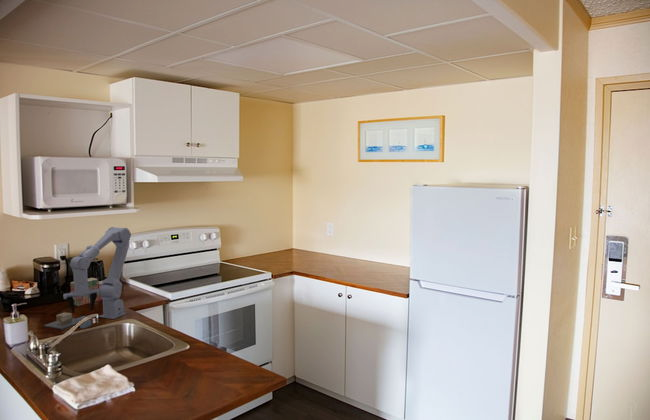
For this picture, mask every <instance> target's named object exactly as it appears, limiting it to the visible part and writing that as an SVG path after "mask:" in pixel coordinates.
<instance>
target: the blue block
mask: <svg viewBox="0 0 650 420" xmlns="http://www.w3.org/2000/svg"><path fill="white" fill-rule="evenodd" d="M85 317H87V316H86V315H83V316H80V317H77V318H75V320H76V324H77V323H78V322H79V321H81V320H82V319H83V318H85ZM91 326H92V318H91V319H90V320H87V321H86V322H84V323H83V324H81V325H80V328H79V329H85V328H88V327H91Z"/></svg>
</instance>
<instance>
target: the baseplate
mask: <svg viewBox="0 0 650 420" xmlns="http://www.w3.org/2000/svg"><path fill="white" fill-rule="evenodd" d="M75 319H76V318H74V317H72V322H70V323H67V324H65V325H62V324H57V320H55V321H51V322H50V323H47V324H44V326H43V327H45V328H51V329H55V330H56V329H57V330H66V329H69V328H71V327H74V326H76V325H75V324H76V320H75Z"/></svg>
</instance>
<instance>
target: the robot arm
mask: <svg viewBox="0 0 650 420" xmlns="http://www.w3.org/2000/svg"><path fill="white" fill-rule="evenodd" d="M131 236H132V234H131V232H130V229H129V228H128V227H114V226H111V227H108V229H107V230H105V233H104V235H102V236H101V238H99V239H98V240H97V241H96V242H95V244H94V245H92V244H91V245H87V246H86V248H85V250H83V251H82V252H80V253H79V254H78V255H77V256H74V257H72V258H71V260H70V263H69V267H70V268H71V270H72V273H73V274H72V275H73V282H74V292H71V291H70V292H68V293H63V296H62V297H63V299H64V300H66V301H67V302H68V304H69V306H70V309H71V313H72V314H75V313H76V311H75V305H74V300H73V297H78V296H85V295H90V303H89V304H90V305H89V308H90V311H93V310H94V306H95V303H96V302H95V300H96V298H97V294H99V295H100V296H101V298H102V299H103V300H102V314H101V315H99V316H98V317H99V318H103V319H104V318H105V319H111V320H115V319H117V318H120V317H122V316H125V315H126V314H127V313H125V302H124V300H123V299H121V298H120V297H121V295H122V292H123V291H122V288H123V283H122V281H121V280H120V278H121V275H122V272H123V268H124V265H125V261H126V258H127V254H128V252H129V247H130V240H131ZM111 242H112V243H113V244H114V245H115V247H116V249H115V251H114V255H113V258H112V262H111V265H110V268H109V271H108V276H107V277H106V278H105V279H104V280H102V281H103V282H102V285H101V286H100V287H99V289H91V290H88V279H89V278H88V269H89V267H90V265H91V263H92V261H93V260H94V259H95V258H97V257H98V256H99V255H100V250H102V249H103V248H104V247H106V246H107V245H108V244H110V243H111ZM112 284H113V285H112Z"/></svg>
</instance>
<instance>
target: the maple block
mask: <svg viewBox="0 0 650 420" xmlns="http://www.w3.org/2000/svg"><path fill="white" fill-rule="evenodd" d="M72 318H73V313H72V312H71V313H70V312H62V313H59V314H56V321H57V324H62V325H65V324H67V323H70V322H72Z"/></svg>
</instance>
